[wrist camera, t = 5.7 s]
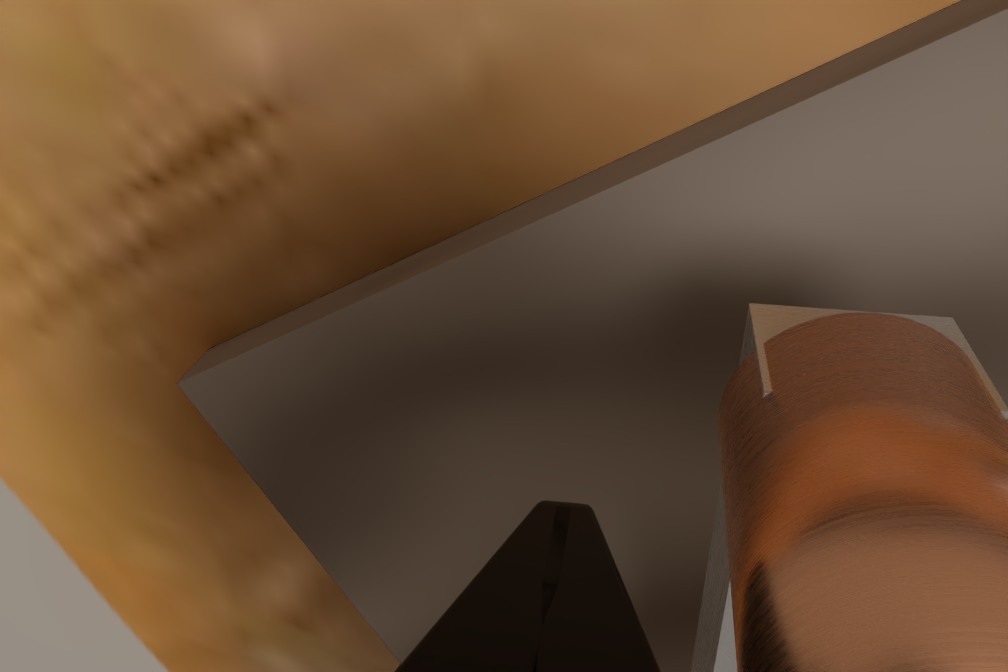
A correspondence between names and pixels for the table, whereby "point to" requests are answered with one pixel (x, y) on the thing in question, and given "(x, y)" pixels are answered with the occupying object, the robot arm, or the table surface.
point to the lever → (857, 500)
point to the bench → (622, 330)
